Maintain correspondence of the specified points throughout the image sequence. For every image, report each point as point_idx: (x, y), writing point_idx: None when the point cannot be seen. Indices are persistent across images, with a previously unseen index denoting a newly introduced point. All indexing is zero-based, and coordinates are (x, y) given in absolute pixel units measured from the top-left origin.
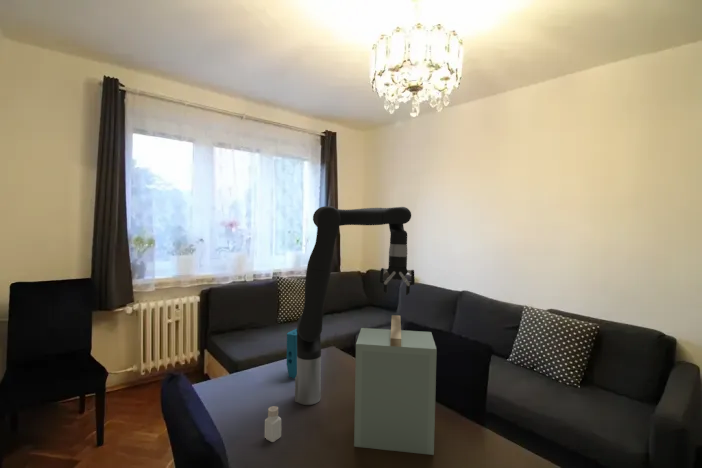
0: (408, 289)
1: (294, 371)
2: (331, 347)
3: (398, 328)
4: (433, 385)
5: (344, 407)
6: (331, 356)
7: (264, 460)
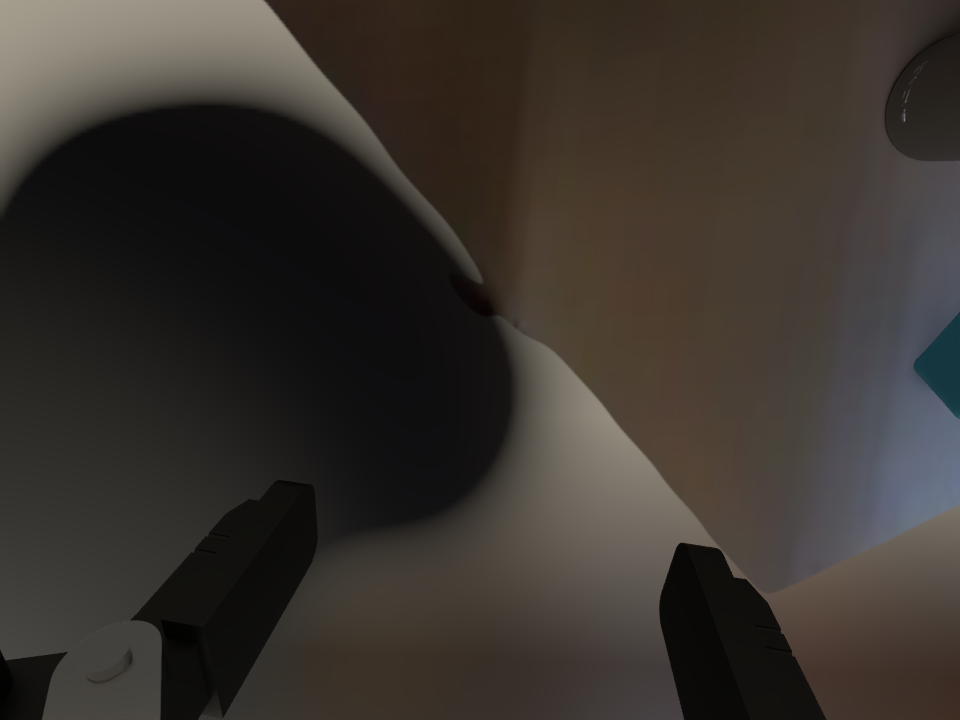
0: (208, 563)
1: None
2: None
3: None
4: None
5: (773, 38)
6: (774, 519)
7: None
